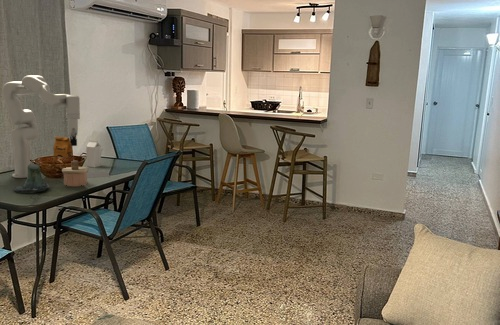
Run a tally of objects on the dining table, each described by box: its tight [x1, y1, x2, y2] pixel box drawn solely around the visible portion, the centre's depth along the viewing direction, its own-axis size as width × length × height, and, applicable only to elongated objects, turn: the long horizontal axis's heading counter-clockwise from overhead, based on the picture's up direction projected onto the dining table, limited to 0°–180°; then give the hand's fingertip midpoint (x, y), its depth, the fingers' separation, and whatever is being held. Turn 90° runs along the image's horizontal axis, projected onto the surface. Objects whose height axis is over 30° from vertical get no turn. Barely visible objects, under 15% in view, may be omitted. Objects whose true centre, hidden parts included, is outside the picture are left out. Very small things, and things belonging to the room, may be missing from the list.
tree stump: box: [13, 163, 51, 194], centre depth 252 cm, size 18×20×18 cm
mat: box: [87, 170, 111, 179], centre depth 294 cm, size 16×16×1 cm
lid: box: [61, 159, 89, 174], centre depth 269 cm, size 15×15×6 cm
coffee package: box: [52, 136, 74, 157], centre depth 309 cm, size 10×12×22 cm
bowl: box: [63, 171, 88, 187], centre depth 270 cm, size 13×13×8 cm
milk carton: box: [85, 139, 102, 168], centre depth 318 cm, size 7×7×19 cm
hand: (73, 144), depth 266 cm, fingers open, 9 cm apart
